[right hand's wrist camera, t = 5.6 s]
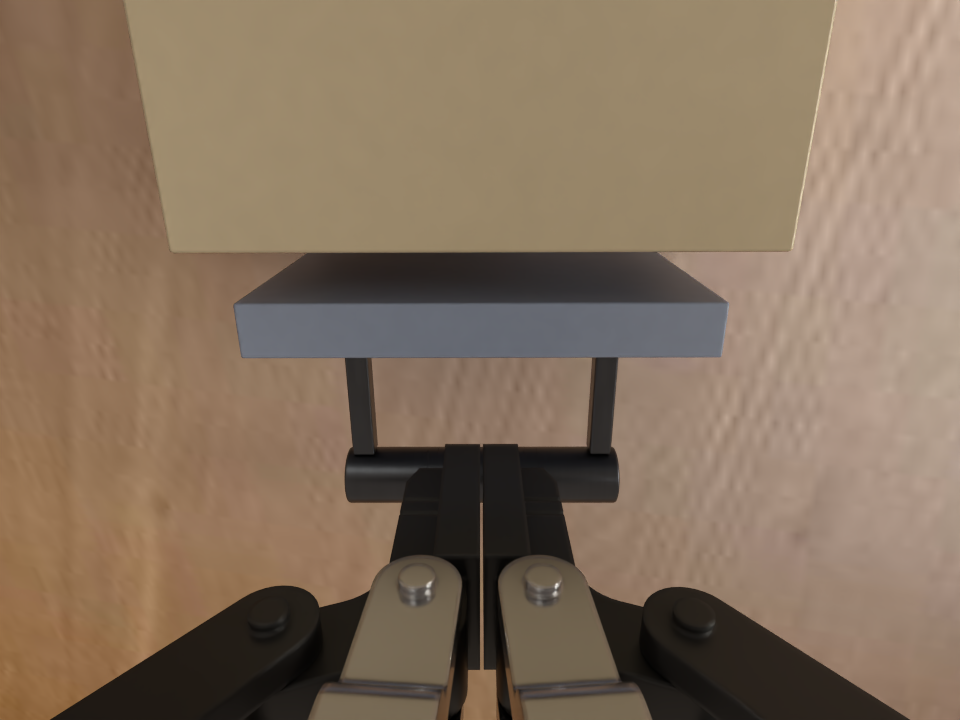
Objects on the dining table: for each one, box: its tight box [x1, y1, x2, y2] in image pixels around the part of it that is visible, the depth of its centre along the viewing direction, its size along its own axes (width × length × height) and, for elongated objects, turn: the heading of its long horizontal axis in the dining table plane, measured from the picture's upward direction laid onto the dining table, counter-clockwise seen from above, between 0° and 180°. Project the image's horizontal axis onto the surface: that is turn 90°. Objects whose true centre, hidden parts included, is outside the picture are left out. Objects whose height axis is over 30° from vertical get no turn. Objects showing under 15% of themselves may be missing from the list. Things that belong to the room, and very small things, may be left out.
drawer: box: [234, 252, 729, 503], centre depth 13 cm, size 25×10×7 cm, turn 0°
